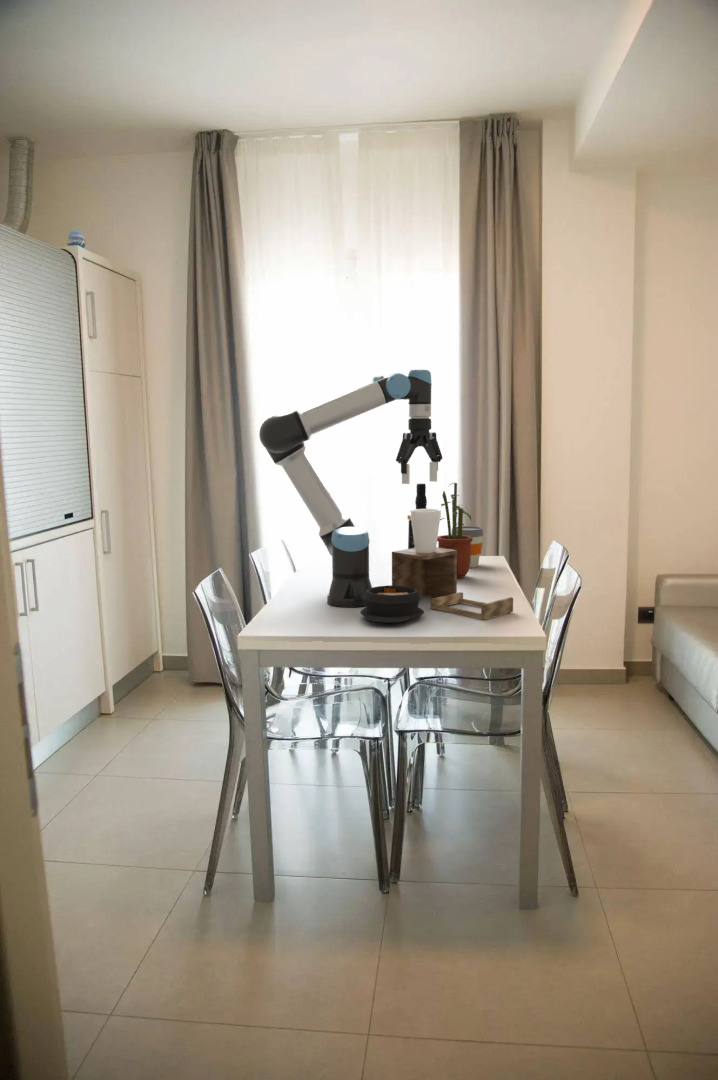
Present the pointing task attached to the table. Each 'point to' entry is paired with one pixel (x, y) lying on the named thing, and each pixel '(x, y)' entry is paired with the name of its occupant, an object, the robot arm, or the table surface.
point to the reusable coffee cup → (473, 542)
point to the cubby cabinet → (426, 571)
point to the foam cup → (425, 529)
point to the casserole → (391, 604)
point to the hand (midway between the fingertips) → (419, 482)
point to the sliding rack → (486, 608)
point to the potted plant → (456, 541)
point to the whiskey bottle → (420, 504)
